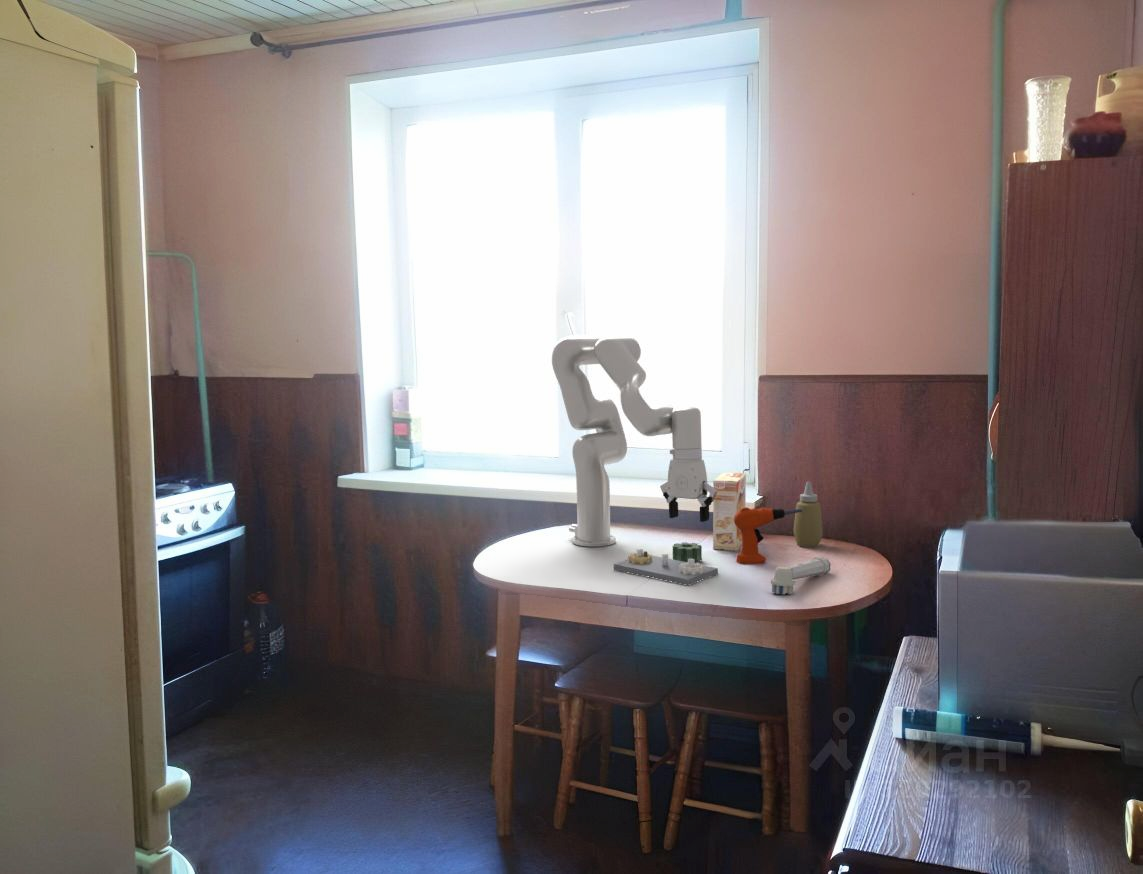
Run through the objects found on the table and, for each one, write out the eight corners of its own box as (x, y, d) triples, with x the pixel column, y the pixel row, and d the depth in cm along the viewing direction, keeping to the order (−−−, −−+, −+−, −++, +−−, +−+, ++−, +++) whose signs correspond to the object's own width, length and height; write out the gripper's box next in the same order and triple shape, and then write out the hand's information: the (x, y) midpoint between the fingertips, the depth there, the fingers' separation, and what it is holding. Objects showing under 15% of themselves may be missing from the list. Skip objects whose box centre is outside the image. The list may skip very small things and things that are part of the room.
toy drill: (810, 557, 230) (804, 501, 228) (739, 567, 230) (731, 511, 228) (805, 552, 235) (798, 497, 233) (735, 562, 235) (728, 507, 233)
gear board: (613, 569, 227) (613, 552, 227) (644, 559, 237) (644, 543, 236) (688, 585, 212) (687, 567, 211) (717, 574, 221) (717, 556, 221)
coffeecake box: (737, 551, 244) (737, 481, 241) (712, 549, 246) (711, 480, 244) (746, 539, 258) (746, 472, 255) (722, 537, 260) (722, 471, 258)
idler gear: (667, 561, 235) (667, 546, 234) (683, 555, 240) (683, 541, 240) (690, 565, 230) (690, 550, 229) (706, 559, 235) (706, 545, 235)
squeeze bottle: (791, 547, 247) (791, 483, 244) (795, 541, 254) (795, 479, 252) (821, 549, 243) (822, 485, 241) (824, 543, 251) (825, 480, 249)
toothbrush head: (834, 558, 220) (788, 566, 201) (831, 585, 220) (786, 595, 201) (814, 555, 223) (767, 562, 204) (812, 581, 223) (765, 591, 204)
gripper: (652, 454, 234) (654, 518, 236) (707, 458, 223) (708, 525, 224) (668, 451, 240) (670, 513, 242) (723, 454, 228) (724, 520, 230)
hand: (689, 519), depth 233 cm, fingers open, 9 cm apart
